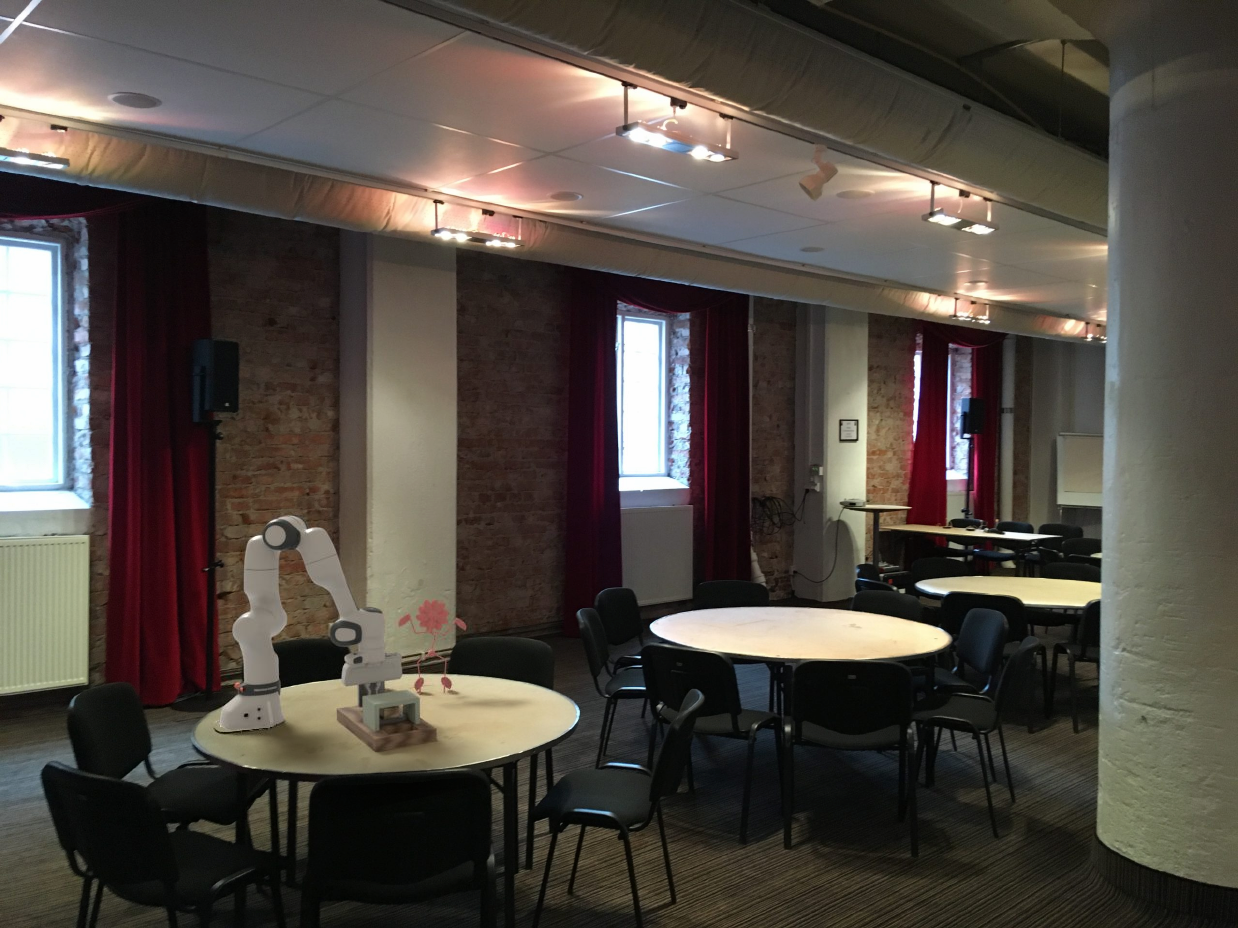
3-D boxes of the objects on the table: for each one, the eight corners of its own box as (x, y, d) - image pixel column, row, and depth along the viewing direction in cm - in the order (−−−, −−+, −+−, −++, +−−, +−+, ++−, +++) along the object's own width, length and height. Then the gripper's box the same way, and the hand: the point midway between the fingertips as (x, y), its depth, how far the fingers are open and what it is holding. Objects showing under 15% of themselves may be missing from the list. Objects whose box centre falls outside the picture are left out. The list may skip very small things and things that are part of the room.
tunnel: (374, 731, 305) (374, 704, 305) (362, 722, 315) (362, 696, 315) (420, 723, 313) (419, 697, 313) (407, 714, 323) (406, 689, 323)
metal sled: (379, 725, 311) (378, 694, 310) (357, 709, 330) (357, 680, 329) (406, 720, 315) (405, 690, 315) (383, 705, 334) (383, 676, 334)
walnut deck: (375, 751, 297) (375, 738, 297) (336, 720, 332) (336, 708, 332) (436, 740, 308) (436, 728, 308) (393, 710, 342) (393, 699, 342)
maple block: (384, 724, 312) (384, 708, 312) (379, 720, 317) (379, 705, 317) (399, 721, 315) (399, 706, 315) (394, 718, 319) (393, 703, 319)
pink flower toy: (466, 693, 365) (465, 600, 365) (397, 696, 363) (396, 603, 363) (468, 684, 381) (467, 595, 381) (401, 686, 378) (400, 597, 378)
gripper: (398, 649, 337) (398, 689, 338) (339, 656, 327) (340, 697, 327) (404, 652, 332) (405, 692, 332) (345, 660, 321) (345, 701, 322)
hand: (372, 695), depth 330 cm, fingers closed
